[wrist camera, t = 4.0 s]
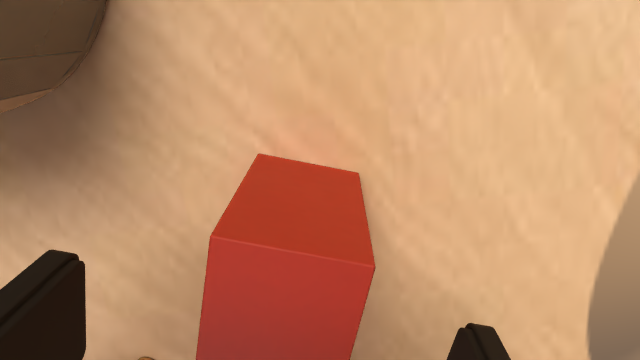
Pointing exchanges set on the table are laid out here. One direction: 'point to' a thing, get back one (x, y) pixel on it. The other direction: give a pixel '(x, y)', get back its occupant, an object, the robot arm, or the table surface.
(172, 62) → the table surface
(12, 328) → the robot arm
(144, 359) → the lion figurine
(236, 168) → the table surface
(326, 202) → the red block
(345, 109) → the table surface
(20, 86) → the dark gray mug
